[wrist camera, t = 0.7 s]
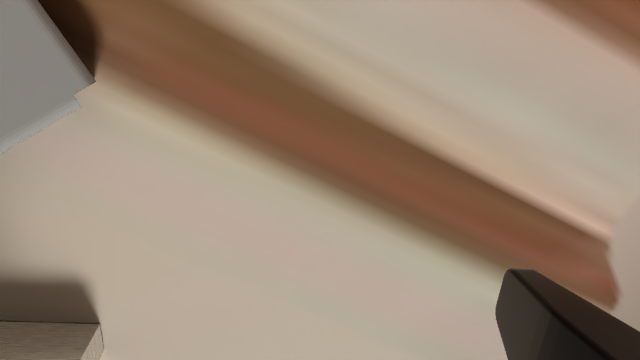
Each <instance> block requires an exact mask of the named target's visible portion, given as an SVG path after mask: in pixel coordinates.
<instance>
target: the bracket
mask: <svg viewBox="0 0 640 360" xmlns="http://www.w3.org/2000/svg"><path fill="white" fill-rule="evenodd" d="M95 82H96V81H95V79H94V78H93V77H92V75H91V74H90V72H89V71H88V70H87V68H86V67H85V65H84V64H83V63H82V61H81V60H80V58H79V57H78V56H77V54H76V53H75V52H74V50H73V49H72V47H71V46H70V45H69V43H68V42H67V40H66V39H65V38H64V36H63V35H62V33H61V32H60V31H59V29H58V28H57V27H56V25H55V24H54V22H53V21H52V20H51V18H50V17H49V15H48V14H47V13H46V11H45V10H44V9H43V7H42V6H41V4H40V3H39V2H38V0H0V154H2V153H3V152H5V151H7V150H8V149H10V148H12V147H14V146H15V145H17V144H19V143H20V142H22V141H24V140H26V139H27V138H29V137H31V136H32V135H34V134H36V133H38V132H39V131H41V130H43V129H45V128H46V127H48V126H50V125H51V124H53V123H55V122H57V121H58V120H60V119H62V118H63V117H65V116H67V115H69V114H70V113H72V112H74V111H75V110H77V109H79V108H81V107H82V106H81V105H80V103H79V102H78V101H77V99H76V98H75V97H74V94H75V93H77V92H79V91H81V90H82V89H84V88H86V87H88V86H89V85H91V84H93V83H95Z"/></svg>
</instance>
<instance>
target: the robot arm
mask: <svg viewBox="0 0 640 360" xmlns="http://www.w3.org/2000/svg"><path fill="white" fill-rule="evenodd" d="M496 320H497V324H498V328H499V331H500V334H501V338H502V341H503V344H504V348H505V351H506V354H507V358H508V360H640V332H639V331H637V330H636V329H634V328H632V327H631V326H629V325H627V324H626V323H624V322H622V321H620V320H619V319H617V318H615V317H614V316H612V315H610V314H609V313H607V312H605V311H603V310H602V309H600V308H598V307H597V306H595V305H593V304H592V303H590V302H588V301H586V300H585V299H583V298H581V297H580V296H578V295H576V294H575V293H573V292H571V291H569V290H568V289H566V288H564V287H563V286H561V285H559V284H557V283H556V282H554V281H552V280H551V279H549V278H547V277H546V276H544V275H542V274H540V273H539V272H537V271H535V270H533V269H516V268H511V269H509V270H507V271H506V273H505V275H504V278H503V282H502V285H501V289H500V293H499V297H498V300H497V304H496Z"/></svg>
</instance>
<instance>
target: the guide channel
mask: <svg viewBox="0 0 640 360" xmlns="http://www.w3.org/2000/svg"><path fill="white" fill-rule="evenodd" d="M103 351H104V347H103V341H102V335H101V329H100V324H72V323H38V322H4V321H0V360H99V359H100V357H101V355H102V353H103Z"/></svg>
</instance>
